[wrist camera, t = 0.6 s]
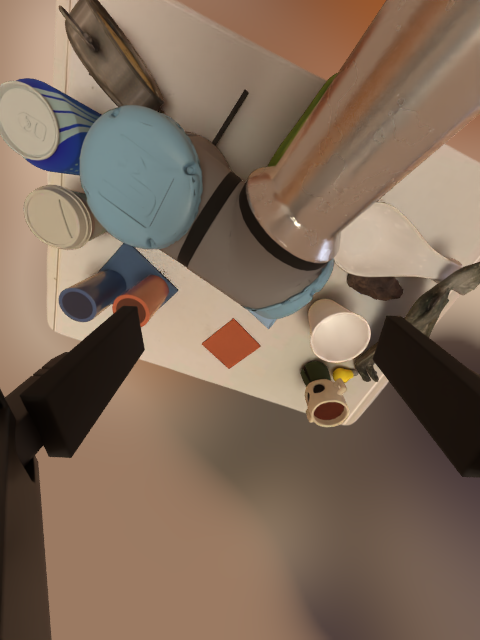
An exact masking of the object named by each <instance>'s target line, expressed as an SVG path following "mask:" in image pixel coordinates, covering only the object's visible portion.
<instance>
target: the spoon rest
mask: <svg viewBox="0 0 480 640" xmlns="http://www.w3.org/2000/svg"><path fill="white" fill-rule="evenodd" d="M334 262H335V263H336V264H337V265H338V266H339V267H340V268H341V269H342V270H344V271H345V272H347V273H350V274H353V275H357V276H364V277H391V276H393V277H394V276H411V277H423V278H429V279H433V280H434V281H435V282H436V283H440V282H441V281H442V280H444V279H445V278H447V277H448V276H449V275H451V274H452V273H453V272H455V271H457V270H458V269H460V268H462V267H463V266H462V264H461V263H460V262H459V261H457V260H455V259H453V258H450V259H447V258H445V257H443V256H442V255H441V254H439V253H438V252H436V251H435V250H434V249H433V248H432V247H431V246H430V245H429V244H428V243H427V242H426V240H425V239H424V238H423V237H422V235H421V234H420V233H419V231H418V230H417V229H416V228H415V227H414V225H413V224H412V223H411V222H410V221H409V220H408V218H407V217H406V216H405V215H404V214H402V213H401V212H400V211H399V210H398V209H396V208H395V207H393V206H391V205H389V204H387V203H383V202H375V203H374V204H373V205H372V206H371V207H370V208H368V209H367V210H366V211H365V212H364V213H362V214H361V215H360V216H359V217H358V218H357V219H355V220H354V221H353V222H352V223H351V224H350V225H348V226H347V227H346V228H345V229H344V230H343V231H341V239H340V248H339V252H338V253H337V255H336V256H335V257H334Z"/></svg>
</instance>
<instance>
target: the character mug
mask: <svg viewBox="0 0 480 640" xmlns="http://www.w3.org/2000/svg"><path fill="white" fill-rule="evenodd" d="M305 367H306V370H305V372H304V370H303V368H302V369H301V376H302V379H303V381H304V383H305V385H306V390H305V400H306V403H307V406H308V409H307V410H306V414H307V418H308V421H309V422H310V423H312V422H315V423H316V424H317V425H319V426H323V427H333V426H337V425H340V424H341V423H343V422H344V421H345V420H346V419H347V418H348V416H349V409H348V406H347V403H346V401H345V399H344V397H343V395H342V394H343V393H344V392H346V390H347V388H346V386H345V384H344V382H343V380H342V379H341V378H339V379H337V380H336V381H335V382H333V381H331V378H330V374H329V371H328V367H327V366H326V365H325V364H323V363H321V362H318V361H313V362H309V363H307V364H306V365H305ZM339 385H340V387H341V388H340V389H339V387H338V386H339Z"/></svg>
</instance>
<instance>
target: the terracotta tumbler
mask: <svg viewBox="0 0 480 640" xmlns="http://www.w3.org/2000/svg"><path fill="white" fill-rule="evenodd" d="M168 295H169V288H168V285H167V283H166V282H165V281H164V280H163V279H162V278H161V277H159V276H156V275H147V276H145V277H144V278H142V279H141V280H140V281H138V282H137V283H136V284H134V285H133V286H132V287H130V288H129V289H128V290H127V291H125V292H124V293H123V294H121V295H120V296H119V297H117V298H116V299H115V301H114V303H113V307H112V309H113V313H115V312H116V311H117V310H118V309H120V308H121V307H122V306H137V308H138V314H139V320H140V326H141V327H142V326H144V325H145V324H146V323H147V322H148V321H149V320H150V319H151V317H152V316H153V315H154V314H155V312H156V311H157V310H158V309H159V307H160V306H161V305H162V304H163V302H164V301H165V300H166V299H167V297H168Z"/></svg>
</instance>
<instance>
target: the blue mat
mask: <svg viewBox="0 0 480 640" xmlns="http://www.w3.org/2000/svg"><path fill="white" fill-rule="evenodd" d="M103 270H113V271H116V272H117V273H119V274H120V275H121V276H122V277H123V278H124V280H125V282H126V291H127V290H128V289H129V288H130V287H132V286H133V285H134V284H136V283H137V282H138V281H140V280H141V279H142V278H144V277H145V276H147V275H156V276H159V277H161V278H162V279H163V280H164V281H165V282H166V283H167V285H168V288H169V295H168V297H167V299H166V300H165V301H164V302H163V304H164V303H166V302H167V301H168V300H169V299H170V298H171V297H172V296H173V295H174V294H175V293H176V292H177V291H178V289H177V288H176V287H175V286H173V285H172V284H171V283H170V282H169V281H168V280H167V279H166V278H165V277H164V276H163V275H162V274H161V273H160V272H159V271H158V270H157V269H156V268H155V267H154V266H153V265H152V264H151V263H150V262H149V261H148V260H147V259H146V258H145V257H143V256H142V255H141V254H140V253H139V252H138V251H137V250H136V249H135V248H134V247H133V246H130V245H128V244H125V243H123V245H122V246H121V247H120V248H119V249H118V250H117V251H116V253H115V254H114V255H113V256H112V257H111V258H110V259H109V261H108V262H107V263H106V264H105V265H104V266H103V267H102V269H101V270H100V271H99V272H101V271H103ZM99 272H98V273H99ZM163 304H162V305H163ZM162 305H161V306H162ZM161 306H160V307H161ZM160 307H159V308H160Z"/></svg>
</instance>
